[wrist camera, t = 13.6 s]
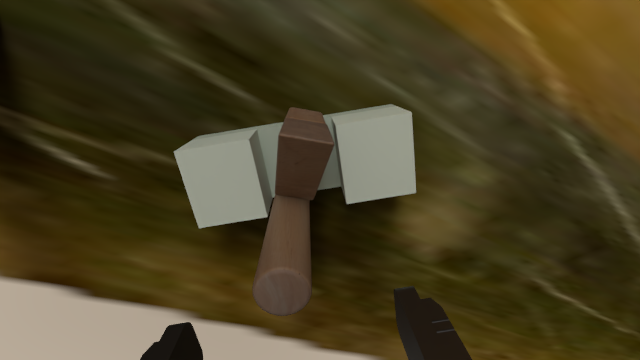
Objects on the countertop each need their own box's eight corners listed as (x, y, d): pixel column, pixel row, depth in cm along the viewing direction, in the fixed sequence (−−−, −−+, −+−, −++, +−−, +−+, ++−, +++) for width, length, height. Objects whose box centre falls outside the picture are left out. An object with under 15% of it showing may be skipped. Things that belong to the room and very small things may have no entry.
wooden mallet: (323, 112, 33) (342, 158, 16) (306, 204, 36) (307, 323, 19) (288, 106, 32) (270, 146, 15) (275, 199, 36) (248, 317, 19)
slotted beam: (198, 136, 35) (173, 151, 28) (391, 104, 35) (411, 112, 28) (217, 200, 38) (198, 228, 31) (396, 171, 37) (416, 192, 31)
